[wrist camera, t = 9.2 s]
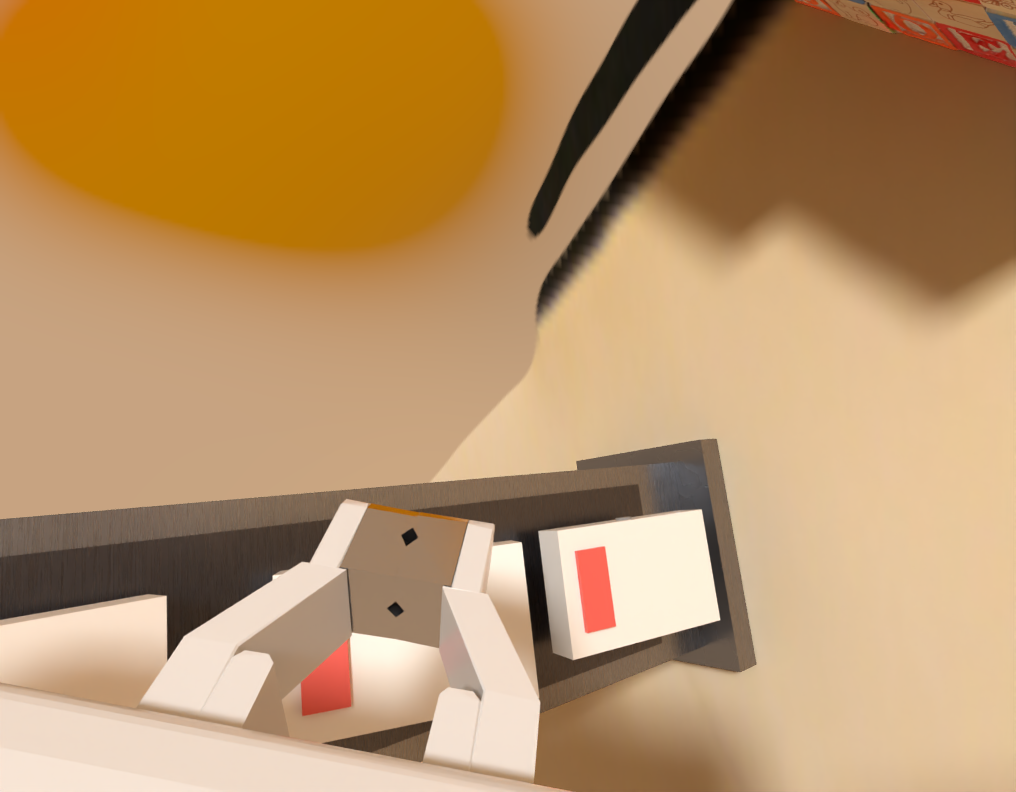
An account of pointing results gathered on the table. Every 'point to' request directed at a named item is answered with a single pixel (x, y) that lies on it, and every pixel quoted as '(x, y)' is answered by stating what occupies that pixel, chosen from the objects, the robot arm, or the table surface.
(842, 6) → the stack of blocks
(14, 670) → the top rocker
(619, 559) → the bottom rocker
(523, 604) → the middle rocker
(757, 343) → the table surface
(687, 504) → the power strip
